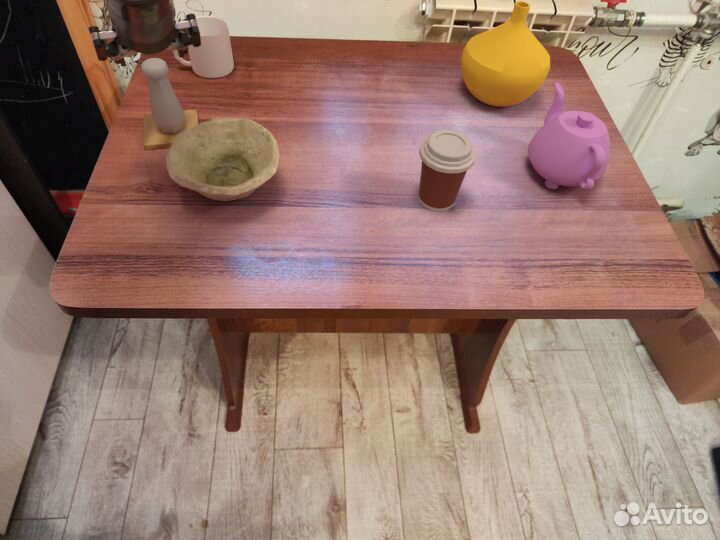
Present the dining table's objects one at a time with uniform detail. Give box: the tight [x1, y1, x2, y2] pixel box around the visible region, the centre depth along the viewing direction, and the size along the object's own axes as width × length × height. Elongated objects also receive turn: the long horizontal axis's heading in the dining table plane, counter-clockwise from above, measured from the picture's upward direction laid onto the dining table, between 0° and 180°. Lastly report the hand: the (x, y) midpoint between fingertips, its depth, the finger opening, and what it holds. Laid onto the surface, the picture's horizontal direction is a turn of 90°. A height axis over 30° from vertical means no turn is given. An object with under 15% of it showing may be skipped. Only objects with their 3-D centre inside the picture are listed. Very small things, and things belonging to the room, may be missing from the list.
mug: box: [172, 15, 235, 80], centre depth 104 cm, size 12×9×9 cm
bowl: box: [165, 117, 280, 202], centre depth 80 cm, size 14×18×15 cm
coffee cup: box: [417, 129, 477, 212], centre depth 81 cm, size 9×9×12 cm
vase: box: [460, 0, 551, 108], centre depth 101 cm, size 18×18×19 cm
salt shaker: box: [140, 57, 185, 133], centre depth 88 cm, size 6×6×13 cm
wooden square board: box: [143, 108, 200, 151], centre depth 93 cm, size 10×10×1 cm
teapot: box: [527, 81, 611, 191], centre depth 88 cm, size 20×14×12 cm
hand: (151, 55), depth 75 cm, fingers open, 8 cm apart
